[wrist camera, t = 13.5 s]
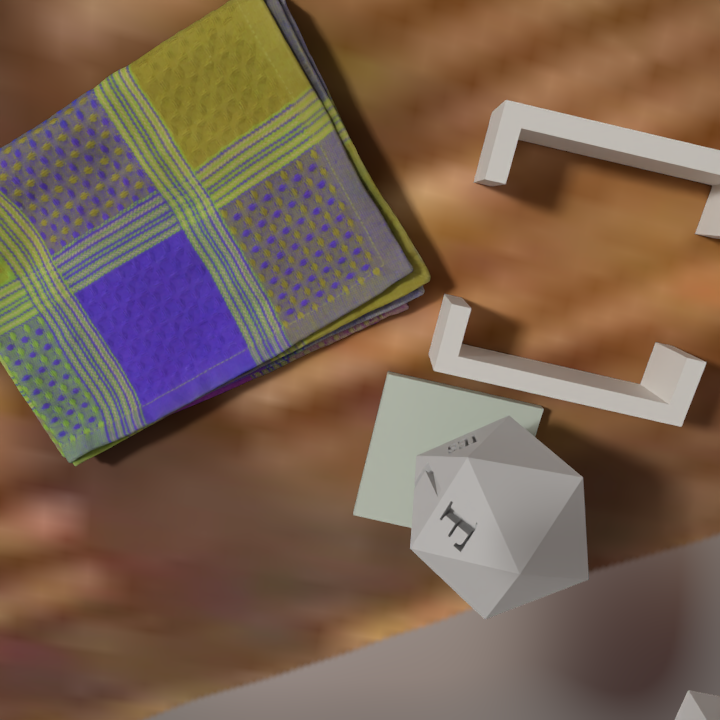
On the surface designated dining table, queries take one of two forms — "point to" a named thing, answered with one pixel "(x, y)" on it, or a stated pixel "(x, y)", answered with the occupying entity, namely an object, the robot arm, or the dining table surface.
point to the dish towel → (188, 232)
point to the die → (499, 518)
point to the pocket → (646, 400)
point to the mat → (422, 437)
